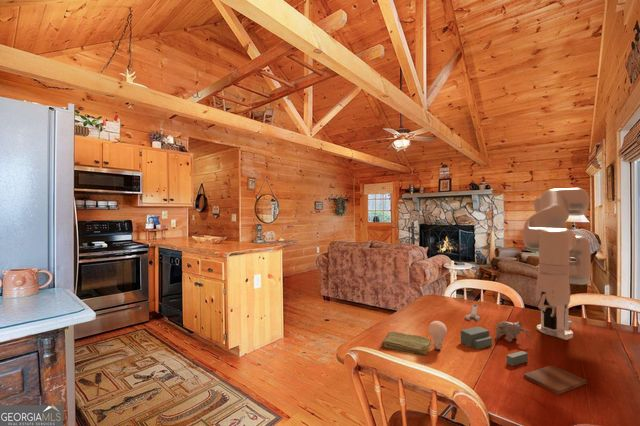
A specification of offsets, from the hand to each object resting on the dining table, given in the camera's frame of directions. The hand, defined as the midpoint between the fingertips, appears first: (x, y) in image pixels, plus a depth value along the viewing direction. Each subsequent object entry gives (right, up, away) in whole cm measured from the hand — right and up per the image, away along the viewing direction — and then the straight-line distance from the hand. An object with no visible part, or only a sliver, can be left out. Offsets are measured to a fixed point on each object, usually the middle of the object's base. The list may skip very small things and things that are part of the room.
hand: (554, 326), depth 95 cm
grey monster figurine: (+6, -17, +29) cm, 34 cm away
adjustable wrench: (+7, -17, +61) cm, 64 cm away
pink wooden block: (+1, -2, -1) cm, 3 cm away
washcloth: (-39, -18, +26) cm, 50 cm away
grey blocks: (-8, -17, +20) cm, 27 cm away
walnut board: (0, -17, 0) cm, 17 cm away
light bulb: (-28, -17, +22) cm, 40 cm away
